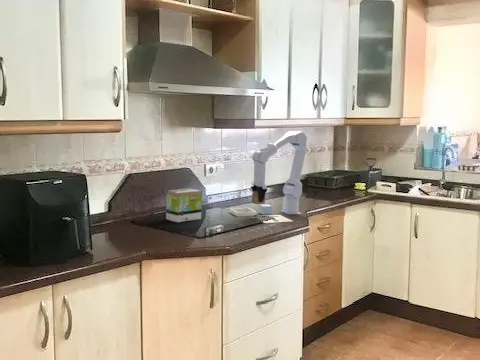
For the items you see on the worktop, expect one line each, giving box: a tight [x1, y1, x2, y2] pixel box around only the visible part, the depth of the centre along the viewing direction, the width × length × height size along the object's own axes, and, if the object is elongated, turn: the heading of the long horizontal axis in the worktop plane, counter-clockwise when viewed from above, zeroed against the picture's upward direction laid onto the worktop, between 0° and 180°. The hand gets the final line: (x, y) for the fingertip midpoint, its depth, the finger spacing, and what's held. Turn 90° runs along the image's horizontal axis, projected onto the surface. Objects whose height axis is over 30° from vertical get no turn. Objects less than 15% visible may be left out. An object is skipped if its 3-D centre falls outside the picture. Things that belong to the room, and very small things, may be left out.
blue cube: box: [258, 203, 273, 216], centre depth 300 cm, size 5×5×5 cm
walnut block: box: [251, 190, 266, 205], centre depth 290 cm, size 5×5×6 cm
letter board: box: [262, 214, 293, 224], centre depth 287 cm, size 16×16×1 cm
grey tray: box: [229, 207, 258, 218], centre depth 297 cm, size 11×11×2 cm
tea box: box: [165, 187, 203, 223], centre depth 281 cm, size 15×10×15 cm
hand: (258, 200), depth 291 cm, fingers closed on walnut block, 5 cm apart
